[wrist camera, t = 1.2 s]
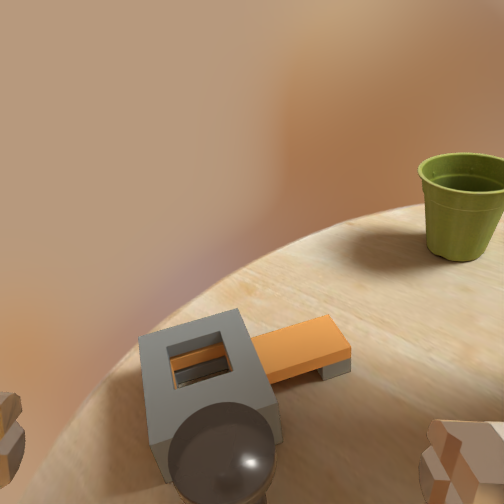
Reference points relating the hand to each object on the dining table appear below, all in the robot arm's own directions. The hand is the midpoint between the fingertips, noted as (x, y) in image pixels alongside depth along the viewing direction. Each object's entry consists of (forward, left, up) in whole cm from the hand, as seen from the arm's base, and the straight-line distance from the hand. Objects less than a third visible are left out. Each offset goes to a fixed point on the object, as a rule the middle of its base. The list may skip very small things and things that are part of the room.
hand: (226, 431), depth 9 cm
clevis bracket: (-4, -22, -27) cm, 35 cm away
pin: (0, -8, -27) cm, 28 cm away
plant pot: (-37, -34, -27) cm, 57 cm away
